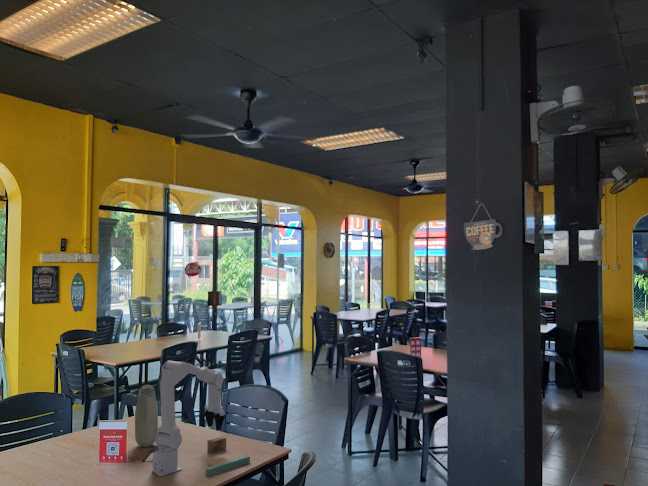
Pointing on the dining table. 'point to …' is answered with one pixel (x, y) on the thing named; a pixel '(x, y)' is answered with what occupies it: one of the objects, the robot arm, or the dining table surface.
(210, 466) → the tile
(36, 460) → the dining table surface
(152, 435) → the olive grey vase
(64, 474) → the dining table surface
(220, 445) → the tall cardboard box
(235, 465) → the rail
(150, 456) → the chocolate bar
